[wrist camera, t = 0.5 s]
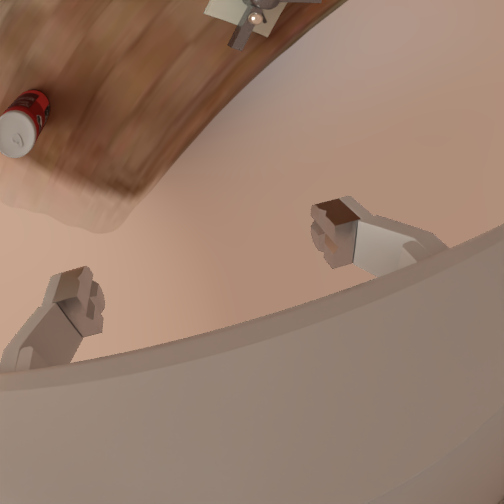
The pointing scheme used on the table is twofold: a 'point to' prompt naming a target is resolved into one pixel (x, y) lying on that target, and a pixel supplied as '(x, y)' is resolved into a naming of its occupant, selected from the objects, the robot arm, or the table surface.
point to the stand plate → (232, 9)
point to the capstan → (254, 19)
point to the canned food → (23, 123)
